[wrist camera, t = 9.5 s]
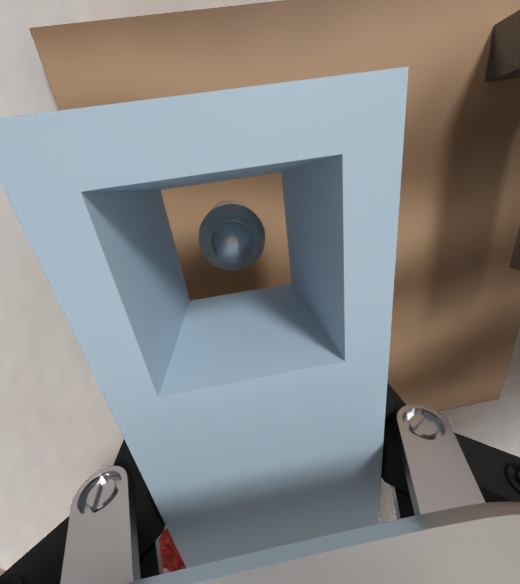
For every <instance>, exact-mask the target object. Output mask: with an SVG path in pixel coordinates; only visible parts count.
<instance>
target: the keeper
mask: <svg viewBox="0 0 520 584" xmlns="http://www.w3.org/2000/svg"><path fill="white" fill-rule="evenodd" d="M516 78H520V10H518V11H516V12H515V13H513V14H512V15H510V16H508V17H507V18H505V19H503V20H502V21H500V22H498V23H497V24H495V25H494V28H493V34H492V40H491V46H490V52H489V58H488V65H487V71H486V77H485V83H486V82H493V81H501V80H508V79H516ZM509 268H513V269H516V270H520V227H519V231H518V235H517V239H516V243H515V247H514V251H513V255H512V259H511V263H510V267H509Z"/></svg>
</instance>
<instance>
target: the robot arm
mask: <svg viewBox="0 0 520 584" xmlns="http://www.w3.org/2000/svg"><path fill="white" fill-rule="evenodd" d="M381 478H383V480H384V482H386V483H388V484H390V485H391V486H392V492H393V498H394V503H395V509H396V515H397V520H393V521H389V522H384V523H380V524H375V525H371V526H366V527H362V528H358V529H353V530H349V531H344V532H340V533H335V534H331V535H327V536H322V537H318V538H314V539H309V540H305V541H301V542H296V543H292V544H288V545H283V546H279V547H275V548H271V549H266V550H262V551H258V552H253V553H249V554H245V555H241V556H236V557H232V558H228V559H223V560H219V561H215V562H211V563H207V564H202V565H198V566H194V567H190V568H186V569H181V570H177V571H173V572H169V573H165V574H164V572H163V565H162V558H161V551H160V544H159V536H160V535H161V534H162V533H163V531H164V528H165V526H166V525H165V522H164V520H163V518H162V516H161V514H160V512H159V510H158V508H157V506H156V504H155V502H154V500H153V498H152V496H151V493H150V491H149V489H148V487H147V485H146V483H145V481H144V479H143V477H142V475H141V473H140V471H139V469H138V466H137V464H136V462H135V460H134V458H133V456H132V454H131V452H130V450H129V448H128V446H127V444H126V442H125V439H124V441H123V443H122V446H121V448H120V450H119V453H118V455H117V458H116V460H115V463H114V465H113V466H109V467H107V468H104V469H101V470H100V471H98V472H97V473H95V474H93V475H92V476H91V477H90V478H89V479H88V480H86V481H85V482H84V484H83V485H82V486H81V487H80V488H79V490H78V491H77V493H76V495H75V497H74V498H73V501H72V505H71V510H70V516H69V517H67V518H66V519H65V520H64V521H63V522H62V523H61V524H59V525H58V526H57V527H56V528H55V529H54V530H53V531H51V532H50V533H49V534H48V535H47V536H46V537H45V538H43V539H42V540H41V541H40V542H39V543H38V544H37V545H35V546H34V547H33V548H32V549H31V550H30V551H29V552H27V553H26V554H25V555H24V556H23V557H22V558H20V559H19V560H18V561H17V562H16V563H15V564H14V565H12V566H11V567H10V568H9V569H8V570H7V571H6V572H4V573H3V574H2V575H1V576H0V584H520V458H519V457H517V456H514V455H512V454H509V453H506V452H504V451H501V450H499V449H496V448H493V447H491V446H488V445H485V444H483V443H480V442H478V441H475V440H472V439H470V438H467V437H464V436H462V435H459V434H457V433H454V432H453V430H452V428H451V426H450V424H449V423H448V421H447V420H446V419H445V418H444V417H443V416H442V415H441V414H440V413H438V412H436V411H435V410H433V409H431V408H428V407H426V406H422V405H406V404H405V403H404V401H403V400H402V399H401V398H400V397H399V395H398V394H397V393H396V392H395V391H394V389H393V388H392V387H391V386H390V385H389V383H388V382H387V396H386V411H385V426H384V441H383V456H382V471H381Z"/></svg>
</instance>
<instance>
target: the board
mask: <svg viewBox="0 0 520 584" xmlns="http://www.w3.org/2000/svg"><path fill="white" fill-rule="evenodd" d="M518 10H520V0H284V1H274V2H265V3H256V4H247V5H238V6H228V7H219V8H210V9H201V10H192V11H182V12H173V13H164V14H155V15H146V16H136V17H127V18H118V19H109V20H100V21H90V22H81V23H72V24H63V25H54V26H44V27H35V28H29V29H30V32H31V35H32V37H33V40H34V43H35V46H36V48H37V51H38V54H39V57H40V59H41V62H42V65H43V67H44V70H45V73H46V76H47V78H48V81H49V84H50V87H51V89H52V92H53V95H54V97H55V100H56V103H57V106H58V108H59V111H60V110H68V109H76V108H84V107H92V106H100V105H108V104H115V103H123V102H131V101H139V100H147V99H155V98H163V97H171V96H179V95H187V94H195V93H203V92H211V91H219V90H227V89H235V88H243V87H250V86H258V85H266V84H274V83H282V82H290V81H298V80H306V79H314V78H322V77H330V76H338V75H346V74H354V73H362V72H370V71H377V70H385V69H393V68H401V67H409V69H408V84H407V99H406V113H405V128H404V143H403V158H402V173H401V188H400V203H399V218H398V233H397V247H396V262H395V277H394V292H393V307H392V322H391V337H390V352H389V367H388V381H387V382H388V383H389V385H390V386H391V387H392V388H393V389H394V391H395V392H396V393H397V394H398V395H399V397H400V398H401V399H402V400H403V401H404V403H405V404H406V405H422V406H426V407H428V408H431V409H433V410H435V411H441V410H445V409H450V408H455V407H460V406H465V405H470V404H475V403H479V402H484V401H489V400H494V399H499V396H500V392H501V389H502V385H503V382H504V378H505V375H506V371H507V368H508V365H509V361H510V358H511V354H512V351H513V347H514V344H515V340H516V337H517V334H518V330H519V327H520V270H516V269H513V268H509V267H510V263H511V259H512V255H513V251H514V247H515V243H516V239H517V235H518V231H519V227H520V78H516V79H508V80H501V81H493V82H486V83H485V77H486V71H487V65H488V58H489V52H490V46H491V40H492V34H493V28H494V25H495V24H497V23H498V22H500V21H502V20H503V19H505V18H507V17H508V16H510V15H512V14H513V13H515V12H516V11H518ZM161 193H162V197H163V201H164V205H165V208H166V212H167V216H168V220H169V224H170V227H171V231H172V235H173V239H174V242H175V246H176V250H177V254H178V258H179V261H180V265H181V269H182V273H183V276H184V280H185V284H186V288H187V291H188V295H189V299H190V301H192V300H198V299H203V298H209V297H215V296H221V295H227V294H232V293H238V292H244V291H250V290H256V289H261V288H267V287H273V286H279V285H285V284H290V283H291V272H290V262H289V251H288V241H287V231H286V220H285V210H284V199H283V189H282V178H281V173H274V174H267V175H260V176H253V177H247V178H240V179H233V180H226V181H219V182H212V183H206V184H199V185H192V186H185V187H178V188H171V189H165V190H161ZM226 199H234V200H238V201H240V202H242V203H244V204H245V205H246V206H248V207H249V208H250V209H251V210H252V211H253V212H254V213H255V214H256V215H257V216H258V217H259V219H260V220H261V222H262V224H263V227H264V230H265V245H264V249H263V251H262V253H261V255H260V257H259V258H258V259H257V260H256V261H255V262H254V263H253V264H252V265H250V266H248V267H246V268H244V269H241V270H234V271H232V270H224V269H221V268H219V267H217V266H215V265H213V264H212V263H211V262H210V261H209V260H208V259H207V258H206V257H205V256H204V254H203V252H202V250H201V248H200V244H199V229H200V225H201V223H202V221H203V219H204V218H205V216H206V215H207V214H208V212H209V211H210V210H211V208H212V207H213V206H214V205H215V204H217V203H218V202H220V201H223V200H226Z"/></svg>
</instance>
